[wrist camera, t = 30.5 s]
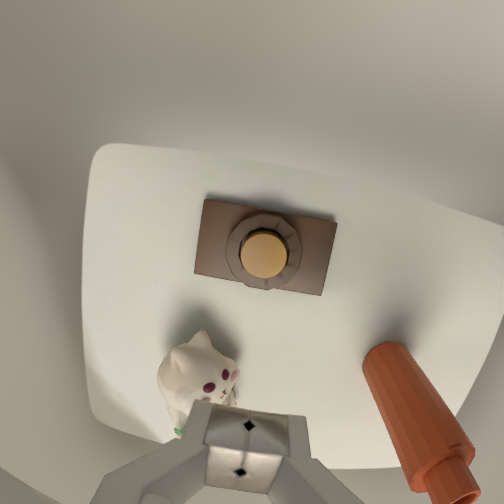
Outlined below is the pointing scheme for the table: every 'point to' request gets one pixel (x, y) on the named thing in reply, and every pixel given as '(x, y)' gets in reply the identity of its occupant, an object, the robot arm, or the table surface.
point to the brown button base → (260, 219)
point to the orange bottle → (421, 427)
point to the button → (263, 254)
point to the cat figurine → (195, 378)
